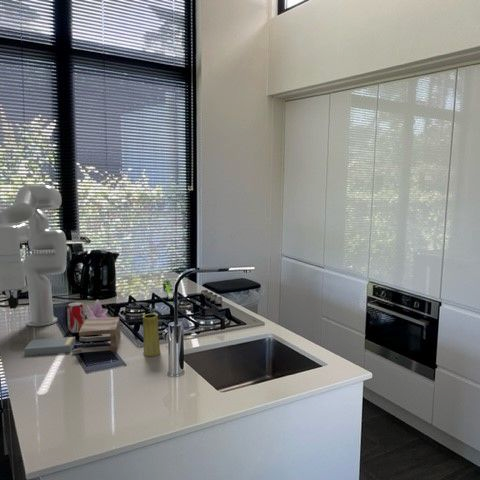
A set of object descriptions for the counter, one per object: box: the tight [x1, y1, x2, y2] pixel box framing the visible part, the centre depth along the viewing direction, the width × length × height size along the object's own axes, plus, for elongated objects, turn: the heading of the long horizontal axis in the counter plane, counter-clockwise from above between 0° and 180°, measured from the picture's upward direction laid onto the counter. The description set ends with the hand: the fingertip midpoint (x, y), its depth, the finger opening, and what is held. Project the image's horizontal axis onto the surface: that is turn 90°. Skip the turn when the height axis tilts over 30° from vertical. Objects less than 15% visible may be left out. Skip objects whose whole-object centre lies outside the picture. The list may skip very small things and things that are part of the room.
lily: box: [86, 299, 109, 319], centre depth 203 cm, size 12×12×10 cm
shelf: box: [72, 316, 121, 355], centre depth 175 cm, size 16×16×8 cm
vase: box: [142, 313, 161, 357], centre depth 165 cm, size 6×6×14 cm
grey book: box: [24, 336, 76, 356], centre depth 172 cm, size 10×16×3 cm, turn 100°
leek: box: [162, 279, 174, 300], centre depth 254 cm, size 6×7×30 cm
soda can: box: [66, 301, 86, 334], centre depth 192 cm, size 7×7×12 cm
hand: (13, 307), depth 168 cm, fingers closed
